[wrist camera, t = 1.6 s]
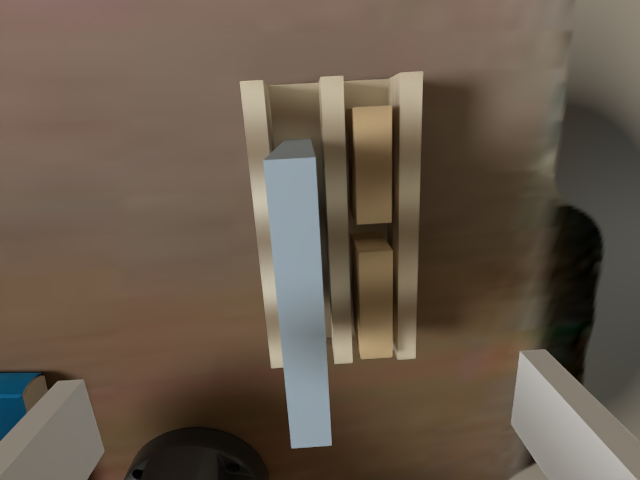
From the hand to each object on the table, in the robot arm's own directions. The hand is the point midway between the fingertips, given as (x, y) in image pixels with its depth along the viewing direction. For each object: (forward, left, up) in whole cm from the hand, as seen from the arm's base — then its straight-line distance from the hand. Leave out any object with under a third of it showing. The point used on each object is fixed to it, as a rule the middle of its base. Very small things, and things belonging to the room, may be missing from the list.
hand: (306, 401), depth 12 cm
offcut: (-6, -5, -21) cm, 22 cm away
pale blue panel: (0, 0, -21) cm, 21 cm away
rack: (0, -2, -23) cm, 23 cm away
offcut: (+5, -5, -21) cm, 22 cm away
